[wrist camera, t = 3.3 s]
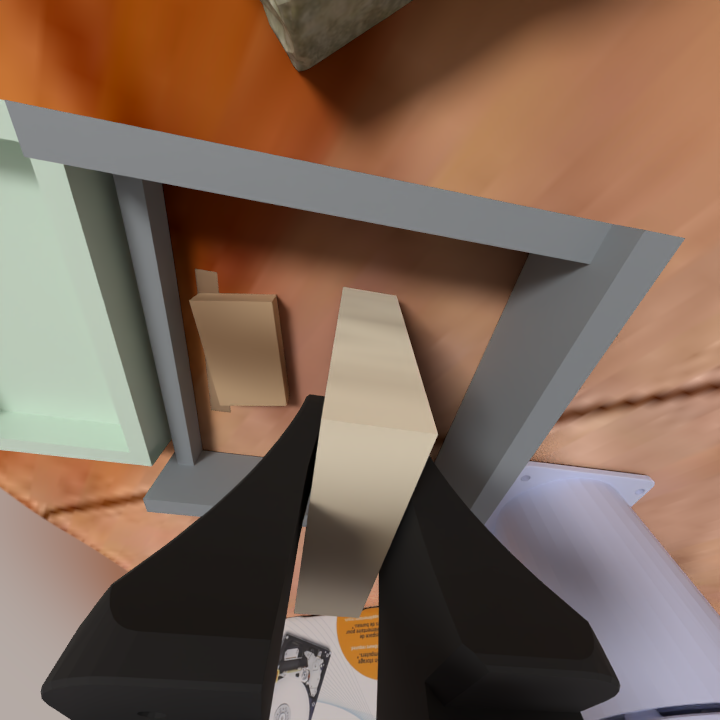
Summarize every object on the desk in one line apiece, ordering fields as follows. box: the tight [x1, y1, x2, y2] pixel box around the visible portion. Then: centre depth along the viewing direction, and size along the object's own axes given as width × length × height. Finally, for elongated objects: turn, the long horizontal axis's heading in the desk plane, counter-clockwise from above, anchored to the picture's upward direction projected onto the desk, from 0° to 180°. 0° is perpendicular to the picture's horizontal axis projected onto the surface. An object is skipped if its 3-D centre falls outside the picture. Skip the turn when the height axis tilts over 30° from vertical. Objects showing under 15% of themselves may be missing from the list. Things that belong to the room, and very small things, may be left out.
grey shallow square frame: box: [4, 100, 685, 527], centre depth 12 cm, size 15×15×4 cm
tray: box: [0, 100, 172, 466], centre depth 11 cm, size 13×9×2 cm
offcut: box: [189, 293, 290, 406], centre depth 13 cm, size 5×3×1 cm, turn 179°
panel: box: [294, 287, 438, 618], centre depth 10 cm, size 8×2×7 cm, turn 170°
